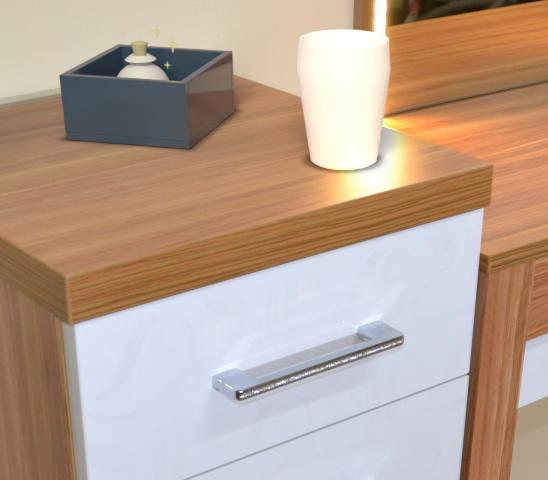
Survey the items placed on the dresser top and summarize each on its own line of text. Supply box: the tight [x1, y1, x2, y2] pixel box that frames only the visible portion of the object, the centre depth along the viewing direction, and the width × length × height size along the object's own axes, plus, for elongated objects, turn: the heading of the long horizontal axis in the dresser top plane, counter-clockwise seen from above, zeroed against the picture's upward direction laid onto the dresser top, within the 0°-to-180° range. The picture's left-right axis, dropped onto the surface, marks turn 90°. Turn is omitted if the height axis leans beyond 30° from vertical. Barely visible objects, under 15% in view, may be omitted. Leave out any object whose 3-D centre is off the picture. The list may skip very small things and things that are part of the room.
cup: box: [296, 28, 391, 171], centre depth 112 cm, size 9×9×12 cm
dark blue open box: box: [58, 43, 236, 150], centre depth 123 cm, size 15×14×7 cm
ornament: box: [117, 24, 180, 80], centre depth 122 cm, size 6×7×10 cm
